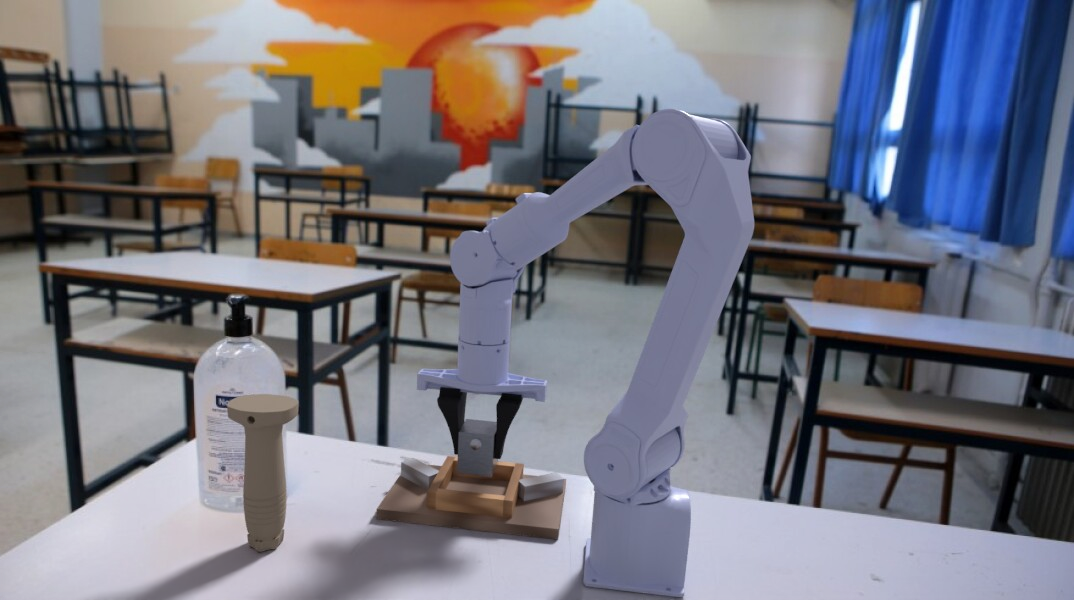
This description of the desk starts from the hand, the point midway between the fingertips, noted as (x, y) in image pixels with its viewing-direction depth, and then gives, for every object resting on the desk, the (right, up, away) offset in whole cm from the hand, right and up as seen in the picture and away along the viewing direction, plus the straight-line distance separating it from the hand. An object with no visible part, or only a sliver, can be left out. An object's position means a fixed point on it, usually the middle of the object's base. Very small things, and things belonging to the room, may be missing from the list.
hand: (478, 453), depth 78 cm
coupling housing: (0, -6, +1) cm, 6 cm away
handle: (-21, -7, -10) cm, 24 cm away
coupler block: (0, -2, 0) cm, 2 cm away
